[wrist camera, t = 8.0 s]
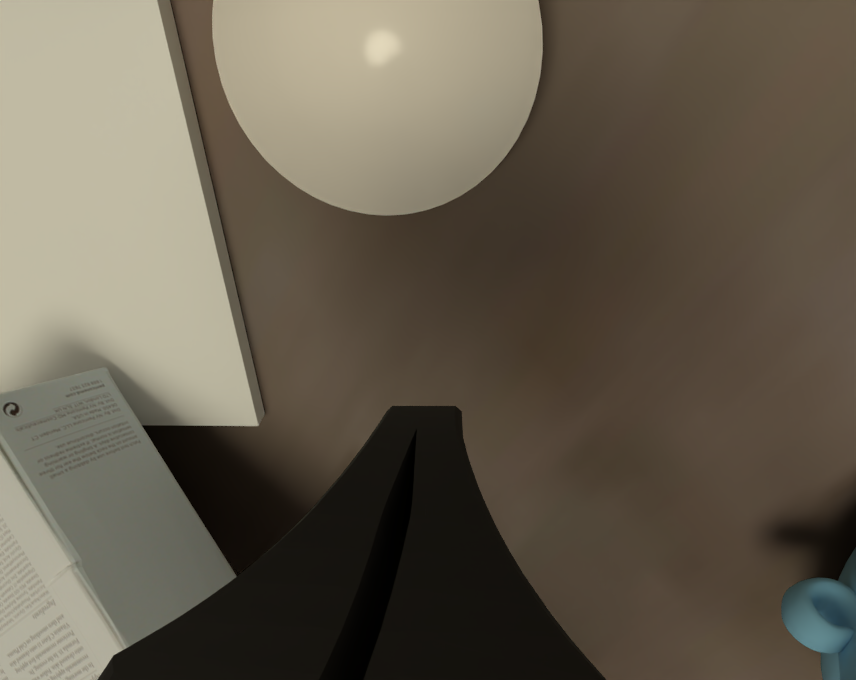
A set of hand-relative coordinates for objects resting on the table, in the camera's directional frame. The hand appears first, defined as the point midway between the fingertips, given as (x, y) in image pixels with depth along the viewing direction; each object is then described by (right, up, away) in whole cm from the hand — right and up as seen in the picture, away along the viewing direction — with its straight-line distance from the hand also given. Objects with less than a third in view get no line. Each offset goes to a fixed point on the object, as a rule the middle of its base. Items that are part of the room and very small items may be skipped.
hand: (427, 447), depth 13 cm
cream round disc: (-1, +10, +6) cm, 12 cm away
